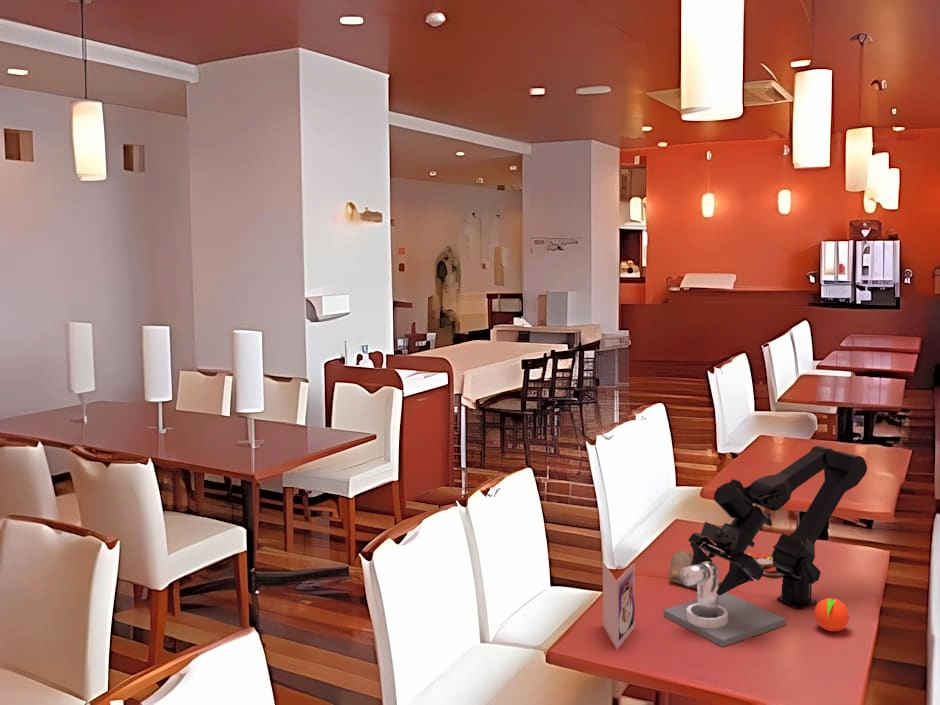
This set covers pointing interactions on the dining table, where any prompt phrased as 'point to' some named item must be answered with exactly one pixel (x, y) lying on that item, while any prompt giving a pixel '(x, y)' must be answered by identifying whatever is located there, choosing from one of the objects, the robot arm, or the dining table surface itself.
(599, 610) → the dining table surface
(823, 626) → the clementine
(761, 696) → the dining table surface
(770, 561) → the toy food set
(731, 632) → the duct flange
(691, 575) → the chrome ball-end rod
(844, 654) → the dining table surface
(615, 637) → the greeting card
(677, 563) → the pipe
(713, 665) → the dining table surface
